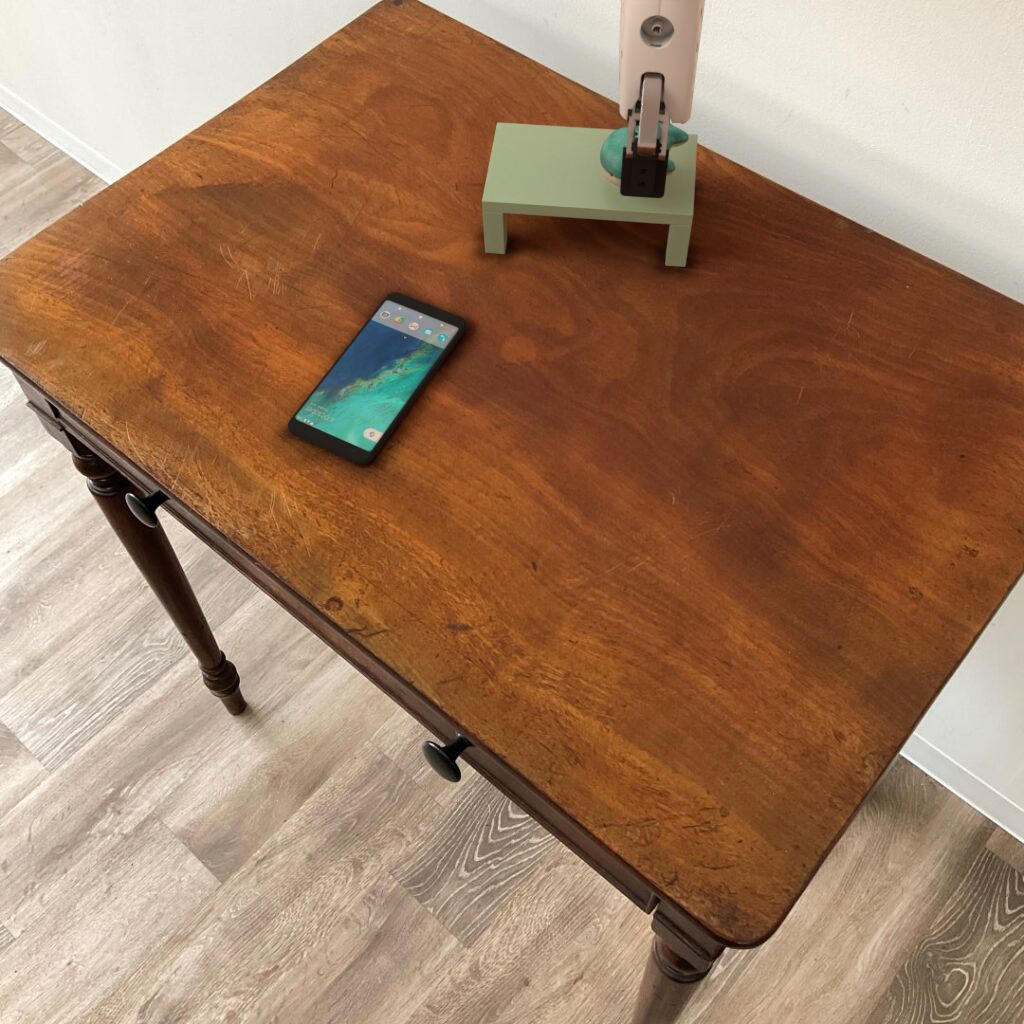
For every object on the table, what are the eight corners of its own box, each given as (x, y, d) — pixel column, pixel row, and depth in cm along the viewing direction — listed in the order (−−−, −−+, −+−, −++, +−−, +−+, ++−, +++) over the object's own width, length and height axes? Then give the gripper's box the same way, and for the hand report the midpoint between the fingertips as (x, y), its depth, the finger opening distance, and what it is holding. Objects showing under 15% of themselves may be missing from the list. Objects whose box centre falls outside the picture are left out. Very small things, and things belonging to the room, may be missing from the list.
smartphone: (470, 319, 84) (366, 464, 77) (471, 325, 85) (367, 470, 78) (391, 287, 86) (281, 427, 79) (392, 294, 87) (284, 433, 80)
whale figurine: (581, 170, 83) (582, 128, 80) (649, 124, 85) (652, 82, 82) (637, 209, 81) (641, 168, 77) (705, 161, 83) (711, 119, 80)
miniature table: (690, 188, 92) (697, 134, 87) (685, 267, 87) (693, 215, 83) (499, 175, 93) (497, 122, 89) (485, 253, 89) (481, 200, 84)
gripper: (725, 17, 63) (691, 246, 78) (732, -149, 71) (699, 85, 87) (593, 10, 63) (584, 238, 78) (616, -154, 72) (604, 80, 87)
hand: (645, 156), depth 82 cm, fingers closed on whale figurine, 7 cm apart
